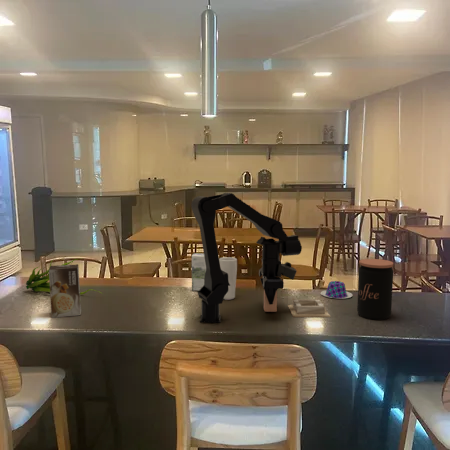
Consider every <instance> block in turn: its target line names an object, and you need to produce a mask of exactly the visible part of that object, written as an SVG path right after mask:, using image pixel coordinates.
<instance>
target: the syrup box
mask: <svg viewBox="0 0 450 450" xmlns="http://www.w3.org/2000/svg"><path fill="white" fill-rule="evenodd" d="M205 273H206V263H205V257H204V253H202V252H201V253H199V252H198V253H197V252H196V253H192V255H191V291H192V292H198V291H199V290H200V289H201V288H202V287H203V286H204V282H205Z"/></svg>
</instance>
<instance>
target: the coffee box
mask: <svg viewBox="0 0 450 450" xmlns="http://www.w3.org/2000/svg"><path fill="white" fill-rule="evenodd" d="M49 267H50V268H49ZM49 267H48V270H49V281H48V282H50V292H49V294H50V310H51V311H50V312H51V313H50V314H51V318H52V319H53V318H63V317H74V316H75V317H76V316H80V315H81V314H82V305H81V304H82V303H81V295H80V293H81V288H80V272H79V271H80V270H79V264H68V265H62V264H61V265H58V264H57V265H51V266H50V265H49Z"/></svg>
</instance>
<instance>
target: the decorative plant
mask: <svg viewBox="0 0 450 450" xmlns="http://www.w3.org/2000/svg"><path fill="white" fill-rule="evenodd" d="M80 259H81V260H82V259H83V257H82V258H75V259H73V260H71V261H69V262H66V263H63V264H61V265H73V264H72V263H73V262H75V261H76V260H77V261H78V260H80ZM54 260H55V258H53V259H52V260H50V264H49V267H48V269H47V270H46V271H44V272H42V273H40V272H41V270H42V268H40V269H39V270H38V271H37V272H36V269H38V268H39V267H40V266H41V265H39V266H37V267H34V268H33V269H32V272H31V274H29V278H28V280H26V283H25V288H26V290H29V289H31V291H32V292H38V293H39V292H45V293H50V282H49V268H50V266H52V262H53V261H54ZM44 268H46V267H43V269H44ZM89 291H93V292H98V293H100V294H103V293H102V292H100V291H99V290H95V289H87V290H85V291H82V292H81V291H80V296H82V295H85V294H86V293H87V292H89Z"/></svg>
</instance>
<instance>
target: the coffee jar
mask: <svg viewBox="0 0 450 450" xmlns="http://www.w3.org/2000/svg"><path fill="white" fill-rule="evenodd" d="M358 263H359V266H360V267H358V277H357V278H358V279H357V281H358V282H357V283H358V284H357V305H356V307H357V309H356V310H357V312H358V315H359V316H360V317H362V318H364V319H368V320H374V321H384V320H387V319H389V318H390V317H391V315H392V308H393V307H392V304H393V302H392V301H393V285H394V283H393V282H394V270H393V267H394V262H393V261H391V260H386V259H379V258H364V259H360V260H359V261H358Z"/></svg>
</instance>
